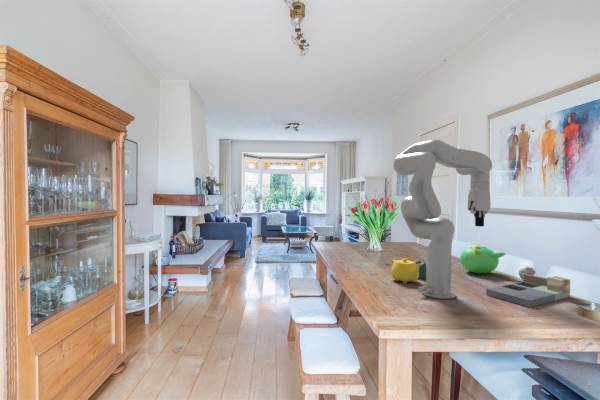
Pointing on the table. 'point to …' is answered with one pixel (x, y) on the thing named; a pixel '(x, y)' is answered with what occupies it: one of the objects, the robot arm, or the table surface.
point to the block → (558, 284)
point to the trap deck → (527, 292)
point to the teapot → (405, 270)
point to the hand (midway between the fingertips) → (479, 226)
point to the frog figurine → (526, 272)
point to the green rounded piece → (480, 259)
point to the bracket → (421, 269)
